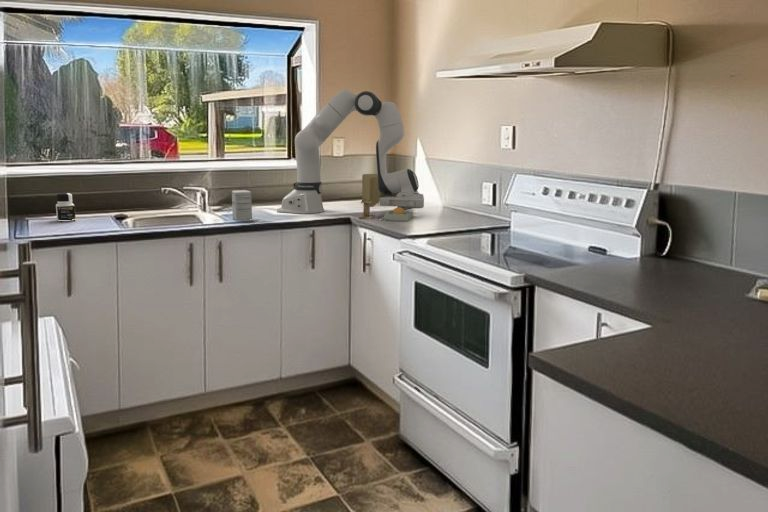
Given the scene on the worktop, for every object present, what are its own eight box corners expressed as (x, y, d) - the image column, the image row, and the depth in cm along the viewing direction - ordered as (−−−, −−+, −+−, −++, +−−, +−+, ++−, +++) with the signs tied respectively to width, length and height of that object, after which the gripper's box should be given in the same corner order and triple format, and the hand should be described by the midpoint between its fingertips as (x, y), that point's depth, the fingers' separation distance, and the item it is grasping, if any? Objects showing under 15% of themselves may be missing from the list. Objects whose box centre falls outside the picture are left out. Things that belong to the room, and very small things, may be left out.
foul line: (377, 220, 328) (377, 220, 328) (384, 216, 340) (384, 216, 340) (379, 220, 327) (379, 220, 327) (386, 216, 340) (386, 216, 340)
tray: (384, 220, 328) (384, 213, 328) (390, 217, 338) (390, 210, 337) (407, 221, 326) (407, 214, 325) (412, 218, 336) (412, 211, 335)
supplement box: (232, 218, 332) (231, 190, 330) (248, 217, 335) (247, 189, 332) (235, 221, 325) (234, 192, 323) (252, 220, 328) (251, 191, 326)
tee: (358, 218, 334) (358, 199, 332) (362, 216, 339) (361, 198, 338) (371, 219, 332) (371, 200, 331) (374, 217, 338) (374, 198, 336)
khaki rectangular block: (380, 207, 374) (381, 177, 371) (361, 207, 373) (361, 177, 370) (380, 201, 395) (380, 173, 392) (362, 201, 395) (362, 173, 392)
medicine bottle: (58, 222, 320) (55, 194, 317) (56, 220, 326) (54, 192, 324) (76, 221, 323) (73, 193, 321) (74, 219, 329) (72, 192, 327)
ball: (391, 218, 330) (392, 207, 329) (394, 217, 335) (394, 206, 334) (402, 219, 329) (403, 208, 328) (405, 217, 334) (405, 206, 333)
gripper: (383, 192, 345) (375, 196, 331) (426, 194, 340) (420, 197, 327) (383, 206, 346) (375, 210, 333) (426, 207, 341) (420, 211, 328)
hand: (398, 204), depth 330 cm, fingers open, 8 cm apart
